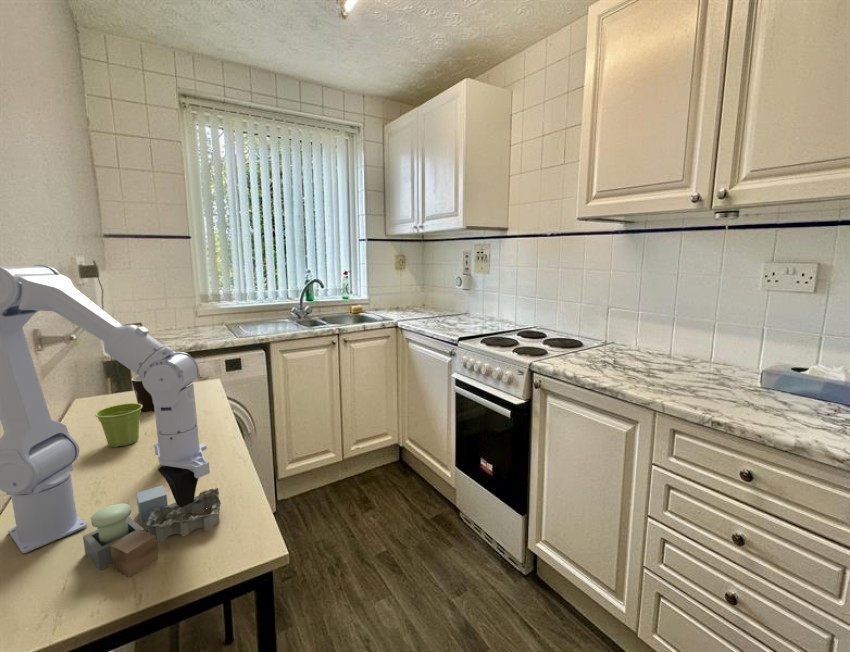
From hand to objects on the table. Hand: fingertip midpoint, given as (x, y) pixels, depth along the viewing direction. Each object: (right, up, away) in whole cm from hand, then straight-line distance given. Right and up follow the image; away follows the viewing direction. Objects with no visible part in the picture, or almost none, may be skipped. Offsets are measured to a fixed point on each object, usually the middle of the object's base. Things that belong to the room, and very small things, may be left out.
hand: (185, 503), depth 69 cm
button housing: (-7, -5, -6) cm, 11 cm away
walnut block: (-2, -5, -9) cm, 10 cm away
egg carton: (0, -4, +1) cm, 4 cm away
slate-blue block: (-8, -4, +3) cm, 9 cm away
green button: (-7, -3, -6) cm, 10 cm away
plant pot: (-35, +1, +33) cm, 48 cm away
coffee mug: (-43, +4, +55) cm, 70 cm away
